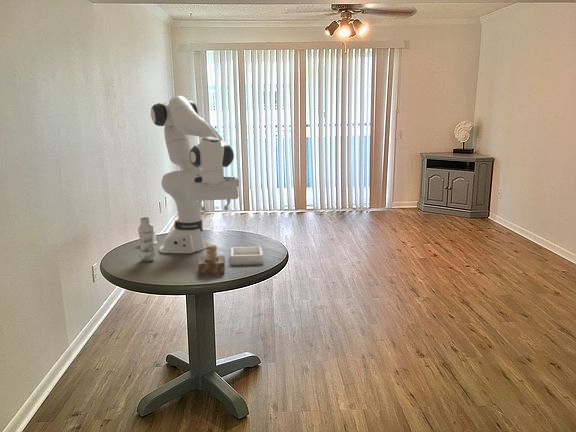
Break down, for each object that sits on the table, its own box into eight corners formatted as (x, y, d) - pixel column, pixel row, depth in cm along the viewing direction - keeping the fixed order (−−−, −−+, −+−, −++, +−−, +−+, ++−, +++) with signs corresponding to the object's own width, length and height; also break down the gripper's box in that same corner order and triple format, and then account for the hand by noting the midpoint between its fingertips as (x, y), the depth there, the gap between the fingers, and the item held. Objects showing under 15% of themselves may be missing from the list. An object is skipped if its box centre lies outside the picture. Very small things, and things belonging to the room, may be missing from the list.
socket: (199, 275, 197) (198, 264, 196) (200, 267, 208) (200, 256, 206) (224, 274, 198) (223, 263, 197) (224, 266, 209) (224, 255, 207)
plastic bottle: (141, 258, 220) (138, 216, 216) (156, 258, 221) (153, 216, 216) (138, 263, 214) (135, 220, 210) (154, 262, 215) (150, 219, 210)
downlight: (160, 243, 245) (158, 224, 244) (147, 246, 241) (145, 226, 239) (153, 241, 251) (151, 222, 249) (140, 243, 247) (138, 224, 245)
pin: (206, 272, 201) (205, 247, 198) (207, 269, 205) (206, 244, 202) (217, 272, 201) (216, 247, 199) (217, 269, 205) (216, 244, 203)
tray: (231, 264, 211) (231, 256, 210) (231, 255, 224) (231, 247, 223) (262, 263, 212) (262, 255, 211) (261, 254, 226) (261, 246, 225)
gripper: (238, 175, 199) (239, 208, 202) (188, 177, 195) (190, 210, 198) (239, 177, 193) (240, 210, 195) (187, 179, 189) (189, 213, 192)
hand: (214, 210), depth 197 cm, fingers open, 8 cm apart
